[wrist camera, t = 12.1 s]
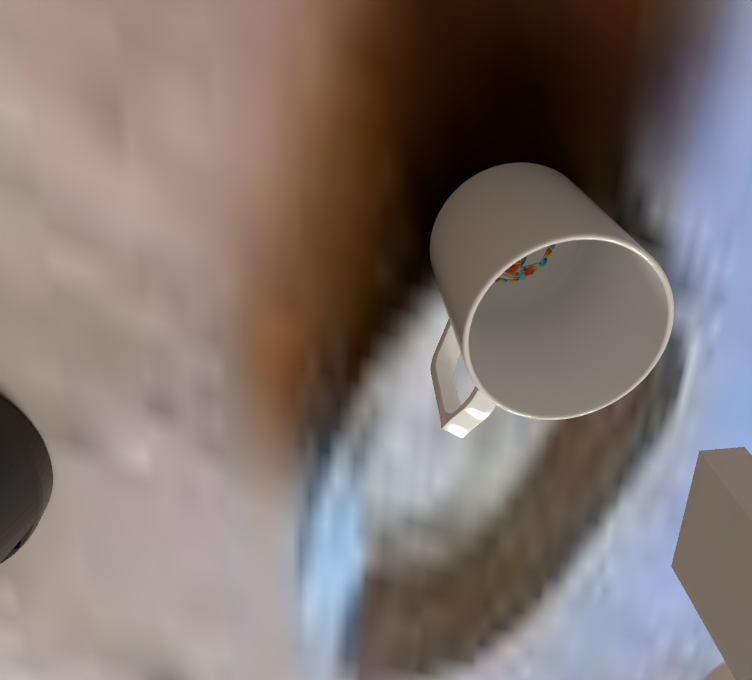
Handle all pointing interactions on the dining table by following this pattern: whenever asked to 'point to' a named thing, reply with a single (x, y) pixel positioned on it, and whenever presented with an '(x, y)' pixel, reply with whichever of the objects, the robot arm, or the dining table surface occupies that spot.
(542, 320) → the grey rounded block
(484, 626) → the dining table surface
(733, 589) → the robot arm
